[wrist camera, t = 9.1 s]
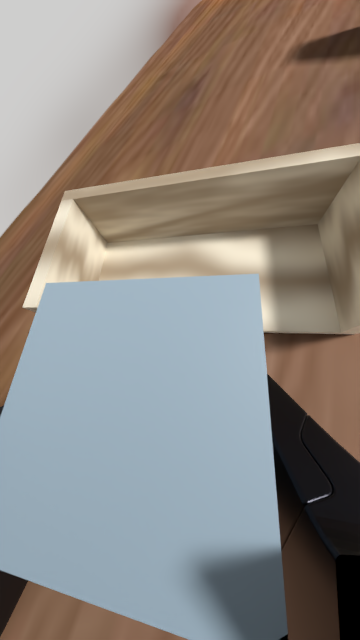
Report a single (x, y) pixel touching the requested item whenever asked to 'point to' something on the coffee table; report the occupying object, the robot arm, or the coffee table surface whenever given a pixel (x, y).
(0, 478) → the pale blue block
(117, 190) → the birch crate
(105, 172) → the coffee table surface
